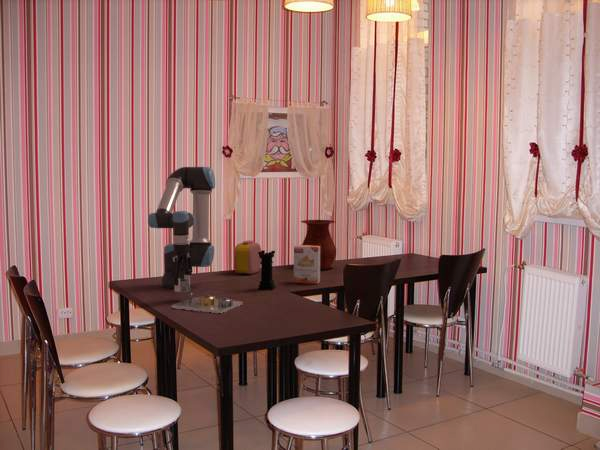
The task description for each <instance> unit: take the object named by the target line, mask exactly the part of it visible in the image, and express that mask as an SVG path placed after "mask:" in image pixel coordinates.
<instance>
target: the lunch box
mask: <svg viewBox="0 0 600 450" xmlns="http://www.w3.org/2000/svg"><path fill="white" fill-rule="evenodd" d="M261 251H262V247H261V245H260V244H259V243H258V242H254V241H253V240H244V241H242V242H240V243H238V244H236V246H235V247H234V256H233V258H234V259H233V260H234V262H233V263H234V270H235V271H234V272H235V273H236V274H239V275H240V274H247V275H254V274H256V273H258V272H259V271H260V270H261V264H260V262H261V258H259V254H258V252H261Z"/></svg>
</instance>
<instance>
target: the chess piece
mask: <svg viewBox="0 0 600 450" xmlns="http://www.w3.org/2000/svg"><path fill="white" fill-rule="evenodd" d="M275 253H276V250H270V251H269V252H266V250H264V249H263V250H262V249H261V252H258V254H259V258H261V262H260V264H261V267H260V270H261V271H260V273H261V274H260V276H261V277H260V278H261V279H260V281H259V282H258V287H257V291H274V290H275V289H276V288H277V286H276V283H275V280H274V279H273V264H274V261H273V258H275Z"/></svg>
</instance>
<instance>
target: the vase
mask: <svg viewBox="0 0 600 450" xmlns="http://www.w3.org/2000/svg"><path fill="white" fill-rule="evenodd" d="M300 223H303V224H306V225H307V231H306V235H305V236H304V239H303V241H302V244H301V245H309V246H320V271H321V270H327V269H330V268H331V267H332V265H333V264H334V263H335V262H334V261H335V260H336V257H337V247H336V244H335V242H334V240H333V238H332V236H331V234H330V233H331V232H330V224H334V223H336V220H333V219H331V220H330V219H307V220H306V219H305V220H301V221H300Z"/></svg>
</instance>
